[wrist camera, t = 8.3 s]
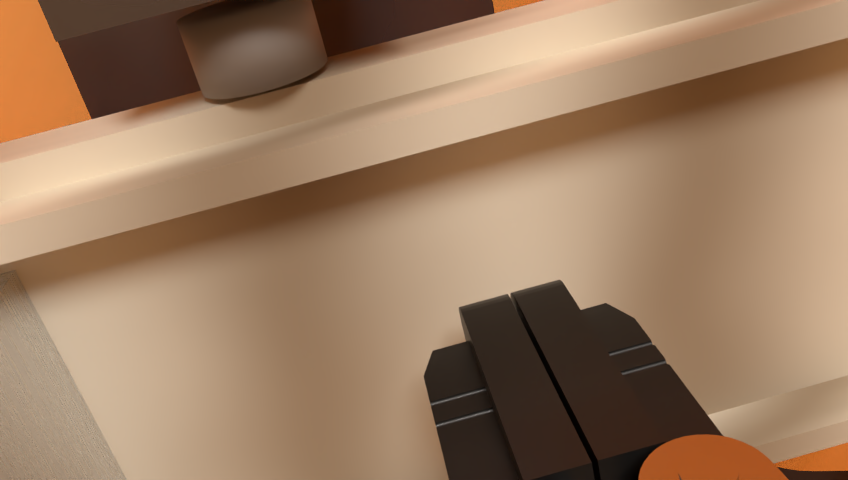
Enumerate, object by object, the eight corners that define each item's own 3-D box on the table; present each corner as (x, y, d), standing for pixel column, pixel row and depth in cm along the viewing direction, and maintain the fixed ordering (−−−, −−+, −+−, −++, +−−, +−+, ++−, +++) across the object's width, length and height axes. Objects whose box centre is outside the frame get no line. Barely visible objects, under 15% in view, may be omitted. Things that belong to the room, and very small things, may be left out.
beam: (1088, -224, 12) (1325, -253, 9) (1007, 353, 16) (1146, 447, 14) (-665, 230, 11) (-983, 349, 8) (-211, 700, 16) (-316, 872, 13)
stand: (438, -243, 17) (615, -380, 8) (549, 353, 25) (709, 645, 15) (-3, -133, 17) (-362, -141, 8) (244, 440, 24) (216, 794, 15)
